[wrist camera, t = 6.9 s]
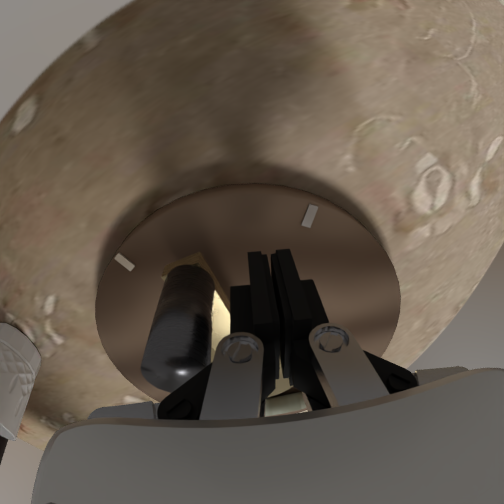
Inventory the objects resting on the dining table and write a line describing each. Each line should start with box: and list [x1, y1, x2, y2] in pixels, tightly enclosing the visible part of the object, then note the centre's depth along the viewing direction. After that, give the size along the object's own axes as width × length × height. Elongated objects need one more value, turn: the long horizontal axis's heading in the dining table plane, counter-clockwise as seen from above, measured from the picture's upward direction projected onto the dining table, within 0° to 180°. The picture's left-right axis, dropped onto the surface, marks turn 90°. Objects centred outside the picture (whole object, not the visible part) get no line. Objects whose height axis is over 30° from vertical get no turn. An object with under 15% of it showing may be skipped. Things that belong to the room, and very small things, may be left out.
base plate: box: [95, 183, 401, 417], centre depth 19 cm, size 22×22×4 cm
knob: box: [140, 251, 293, 397], centre depth 14 cm, size 13×7×7 cm, turn 22°
